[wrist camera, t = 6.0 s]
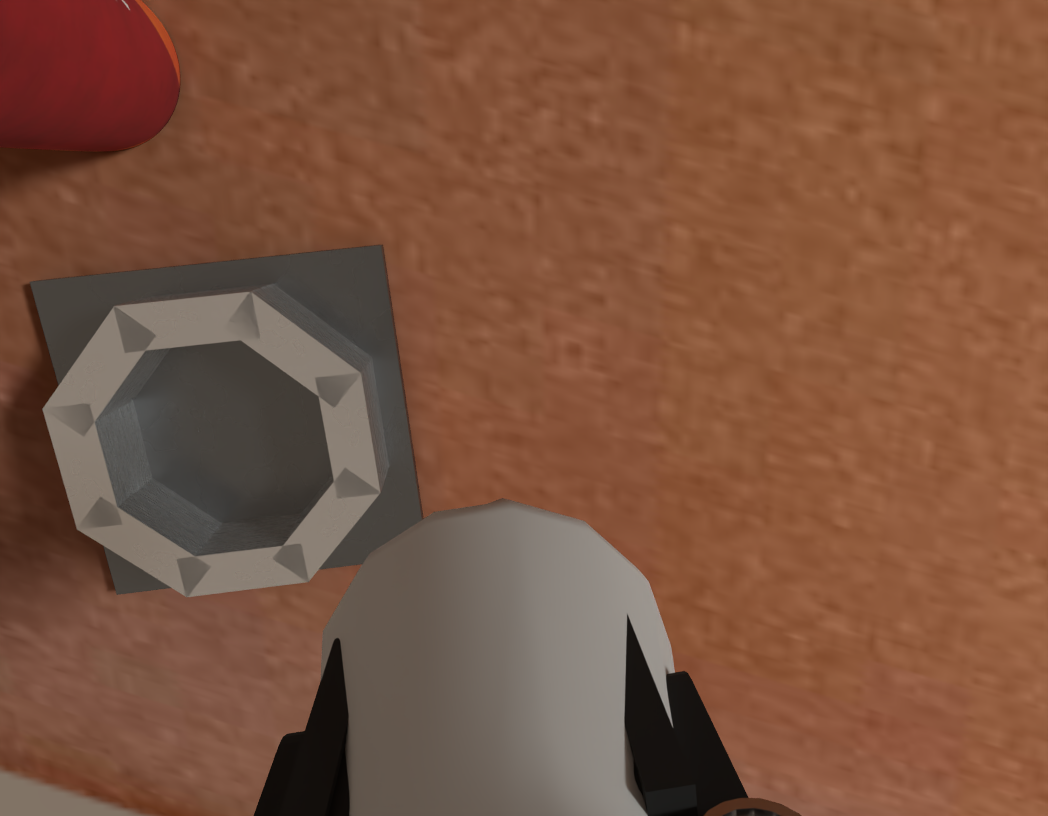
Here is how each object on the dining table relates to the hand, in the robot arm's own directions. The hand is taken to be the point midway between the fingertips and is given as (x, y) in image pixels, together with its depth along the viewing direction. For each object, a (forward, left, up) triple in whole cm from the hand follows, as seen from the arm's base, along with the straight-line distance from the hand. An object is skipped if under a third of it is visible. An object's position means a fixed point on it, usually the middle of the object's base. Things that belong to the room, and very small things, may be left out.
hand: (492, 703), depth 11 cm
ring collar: (0, -9, -19) cm, 21 cm away
